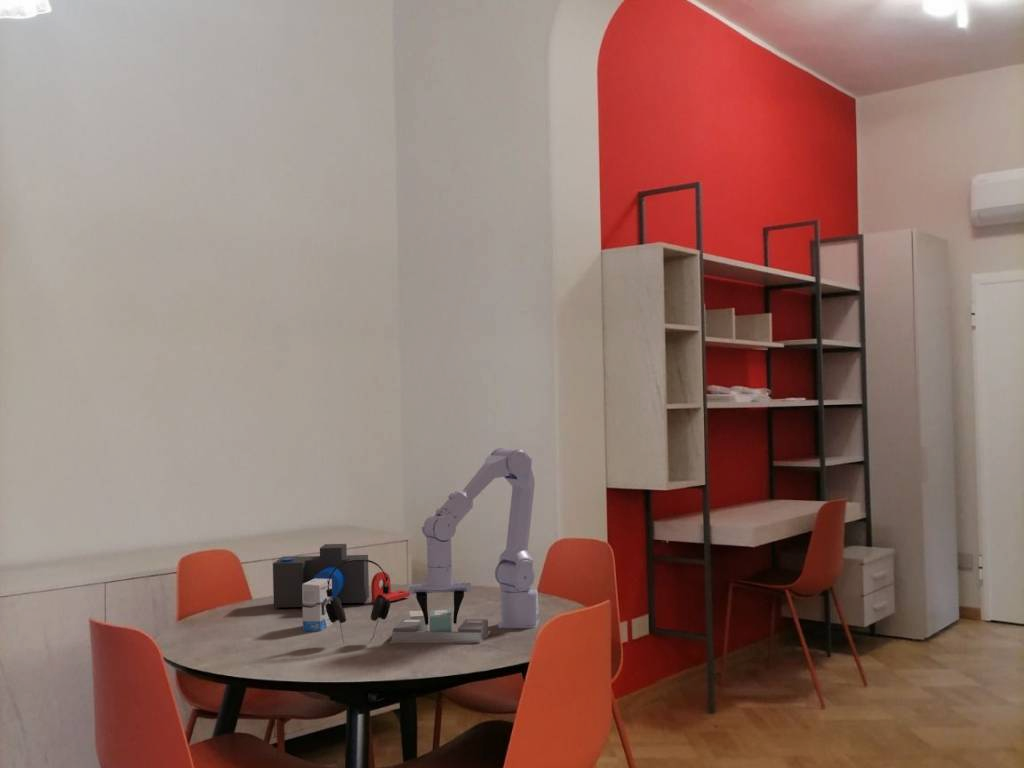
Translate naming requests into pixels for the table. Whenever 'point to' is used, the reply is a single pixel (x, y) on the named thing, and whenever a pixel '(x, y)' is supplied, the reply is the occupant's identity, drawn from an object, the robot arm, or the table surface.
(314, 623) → the ink box
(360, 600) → the camera
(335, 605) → the headphones
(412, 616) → the block
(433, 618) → the teal module
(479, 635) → the rail
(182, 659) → the table surface
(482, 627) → the mounted modules
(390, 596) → the bracket
